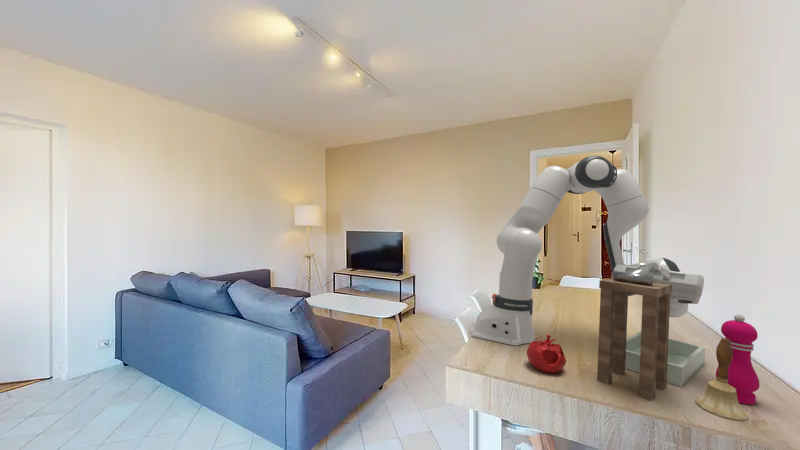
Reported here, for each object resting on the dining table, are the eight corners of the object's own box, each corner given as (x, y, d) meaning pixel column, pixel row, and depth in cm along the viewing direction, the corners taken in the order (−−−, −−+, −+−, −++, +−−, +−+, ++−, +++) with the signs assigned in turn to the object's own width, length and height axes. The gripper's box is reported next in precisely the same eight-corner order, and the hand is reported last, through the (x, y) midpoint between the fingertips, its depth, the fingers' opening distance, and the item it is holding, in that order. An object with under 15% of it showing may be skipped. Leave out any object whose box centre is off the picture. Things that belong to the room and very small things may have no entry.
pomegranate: (518, 363, 91) (520, 331, 91) (543, 358, 95) (545, 327, 95) (547, 379, 82) (549, 343, 82) (574, 373, 86) (575, 339, 86)
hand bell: (740, 407, 72) (743, 337, 72) (754, 426, 65) (758, 348, 65) (691, 395, 76) (694, 329, 76) (699, 411, 69) (702, 339, 69)
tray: (640, 346, 108) (640, 331, 108) (704, 363, 95) (704, 347, 95) (610, 363, 93) (610, 346, 93) (681, 387, 80) (682, 367, 80)
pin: (636, 268, 92) (636, 260, 92) (671, 272, 86) (671, 263, 86) (612, 280, 82) (612, 271, 82) (650, 286, 76) (650, 276, 76)
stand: (614, 368, 89) (617, 277, 89) (668, 387, 80) (672, 284, 80) (595, 379, 82) (599, 280, 82) (652, 401, 73) (657, 289, 72)
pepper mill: (738, 390, 79) (741, 311, 79) (768, 407, 72) (772, 320, 72) (706, 388, 80) (709, 309, 80) (733, 404, 73) (737, 318, 72)
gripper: (623, 272, 103) (609, 252, 96) (709, 284, 87) (700, 261, 80) (618, 290, 101) (604, 271, 94) (705, 305, 85) (696, 283, 78)
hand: (648, 266), depth 87 cm, fingers closed on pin, 2 cm apart
